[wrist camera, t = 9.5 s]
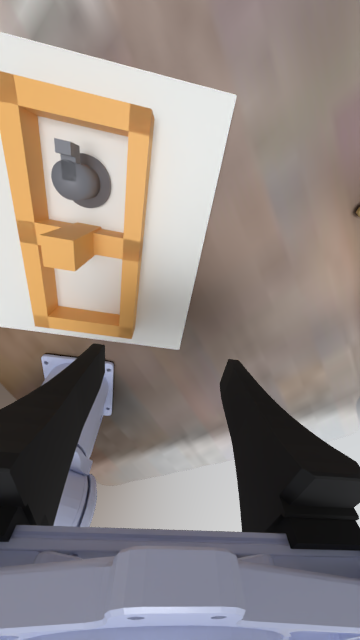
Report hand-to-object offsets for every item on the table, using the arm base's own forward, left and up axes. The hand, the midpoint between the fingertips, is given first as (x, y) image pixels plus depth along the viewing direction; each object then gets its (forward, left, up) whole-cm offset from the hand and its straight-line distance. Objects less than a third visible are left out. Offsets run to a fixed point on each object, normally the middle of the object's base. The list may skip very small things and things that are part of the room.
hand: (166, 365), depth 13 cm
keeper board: (+4, +7, -10) cm, 13 cm away
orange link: (+4, +7, -9) cm, 12 cm away
